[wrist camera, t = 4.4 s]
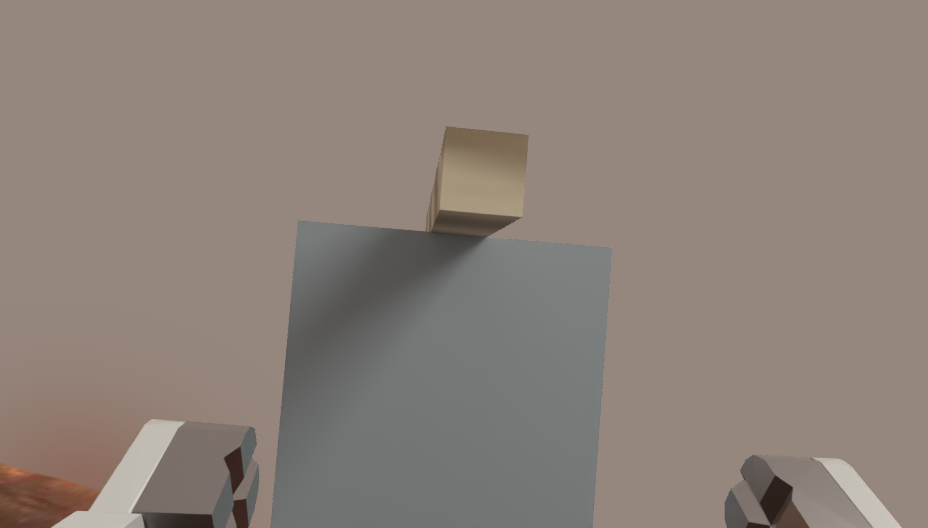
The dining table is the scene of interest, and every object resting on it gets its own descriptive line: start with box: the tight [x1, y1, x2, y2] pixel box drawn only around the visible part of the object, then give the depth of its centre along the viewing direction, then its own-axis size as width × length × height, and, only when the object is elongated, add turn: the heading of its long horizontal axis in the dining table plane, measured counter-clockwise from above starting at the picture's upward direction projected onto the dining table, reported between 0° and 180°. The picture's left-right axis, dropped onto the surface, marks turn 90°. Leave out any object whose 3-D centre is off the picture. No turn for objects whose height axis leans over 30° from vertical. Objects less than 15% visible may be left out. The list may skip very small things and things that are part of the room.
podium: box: [271, 221, 612, 528], centre depth 30 cm, size 12×14×26 cm
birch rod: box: [425, 127, 528, 237], centre depth 29 cm, size 24×2×2 cm, turn 5°
